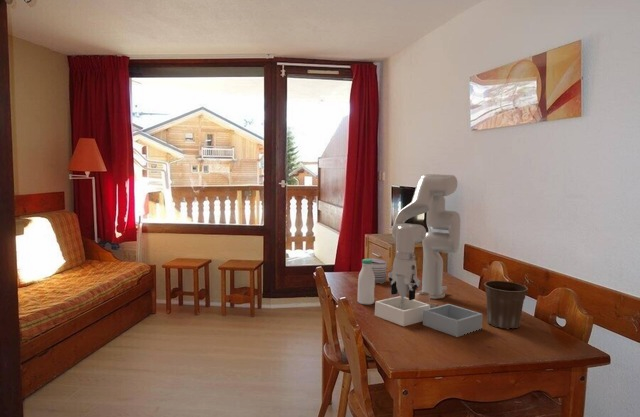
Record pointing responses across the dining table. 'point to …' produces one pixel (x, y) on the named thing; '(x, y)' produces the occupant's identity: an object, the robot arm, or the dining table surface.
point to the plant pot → (504, 303)
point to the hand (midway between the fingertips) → (402, 296)
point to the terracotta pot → (422, 297)
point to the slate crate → (452, 319)
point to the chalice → (402, 289)
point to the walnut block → (432, 304)
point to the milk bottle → (366, 283)
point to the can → (379, 270)
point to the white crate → (393, 312)
